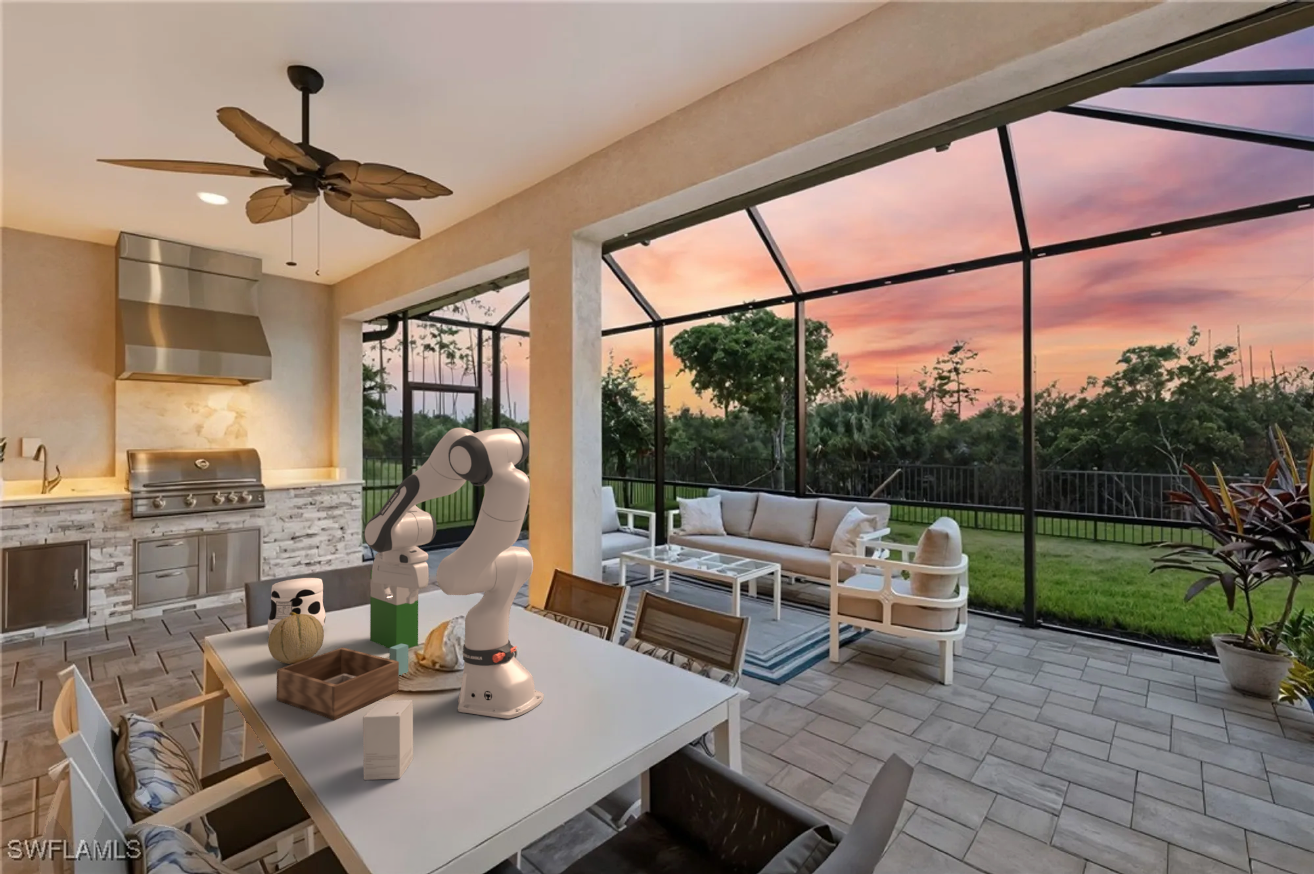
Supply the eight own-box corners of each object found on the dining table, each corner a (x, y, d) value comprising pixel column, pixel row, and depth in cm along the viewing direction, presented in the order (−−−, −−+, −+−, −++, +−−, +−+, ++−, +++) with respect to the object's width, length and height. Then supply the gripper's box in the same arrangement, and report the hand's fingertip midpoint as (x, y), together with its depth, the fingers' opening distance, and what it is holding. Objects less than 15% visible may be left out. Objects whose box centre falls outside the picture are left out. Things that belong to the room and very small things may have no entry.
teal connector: (408, 672, 165) (408, 644, 165) (396, 677, 161) (396, 649, 161) (401, 670, 166) (401, 643, 166) (389, 675, 162) (389, 647, 163)
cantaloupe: (297, 673, 164) (297, 621, 164) (255, 669, 167) (255, 619, 167) (335, 654, 178) (335, 607, 179) (296, 651, 181) (296, 605, 182)
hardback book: (370, 640, 192) (370, 570, 192) (391, 634, 198) (391, 566, 198) (396, 651, 181) (396, 577, 182) (418, 645, 187) (418, 573, 187)
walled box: (398, 691, 152) (398, 661, 152) (334, 720, 136) (334, 686, 136) (342, 675, 163) (342, 647, 163) (276, 700, 147) (276, 669, 147)
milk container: (321, 622, 211) (321, 574, 212) (329, 634, 198) (329, 583, 198) (265, 632, 200) (265, 582, 201) (270, 645, 187) (270, 591, 187)
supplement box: (414, 758, 119) (414, 698, 119) (399, 779, 112) (399, 715, 112) (379, 759, 119) (379, 699, 119) (361, 780, 111) (362, 716, 111)
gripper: (366, 552, 166) (365, 599, 166) (414, 558, 157) (414, 608, 157) (385, 549, 172) (384, 594, 171) (432, 554, 162) (432, 602, 162)
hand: (399, 601), depth 164 cm, fingers open, 8 cm apart
